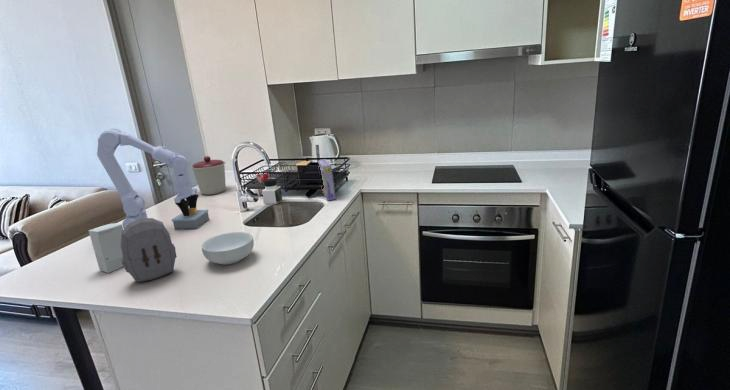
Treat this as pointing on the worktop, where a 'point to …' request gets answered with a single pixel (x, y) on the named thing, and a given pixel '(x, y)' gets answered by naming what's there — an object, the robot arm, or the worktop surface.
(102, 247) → the skincare box
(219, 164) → the canister
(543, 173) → the worktop surface
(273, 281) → the worktop surface
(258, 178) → the soda can
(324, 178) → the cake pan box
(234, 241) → the cereal bowl
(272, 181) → the medicine bottle
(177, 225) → the tub
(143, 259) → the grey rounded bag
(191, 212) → the lid
